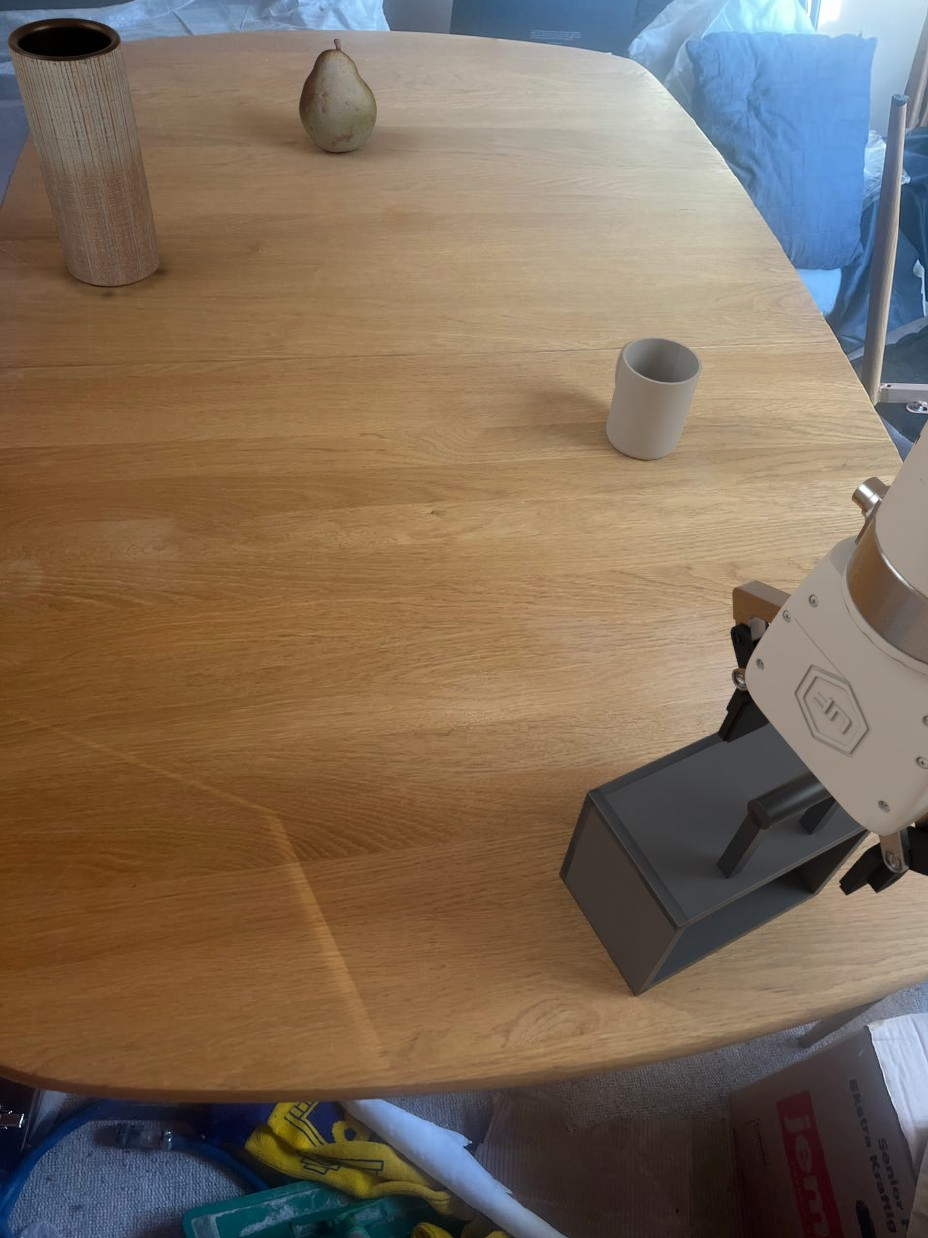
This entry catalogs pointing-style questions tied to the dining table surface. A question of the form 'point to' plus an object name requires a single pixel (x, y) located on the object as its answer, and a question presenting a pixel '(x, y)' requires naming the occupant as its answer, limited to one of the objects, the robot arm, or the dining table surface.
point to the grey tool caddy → (703, 851)
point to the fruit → (337, 103)
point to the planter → (87, 147)
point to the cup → (651, 396)
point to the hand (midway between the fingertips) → (799, 800)
